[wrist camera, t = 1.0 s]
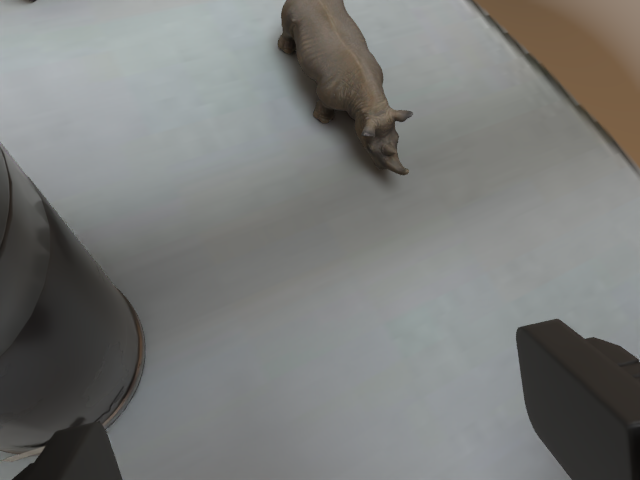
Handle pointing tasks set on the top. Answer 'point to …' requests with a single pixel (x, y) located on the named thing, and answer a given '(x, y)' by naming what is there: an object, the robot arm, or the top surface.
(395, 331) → the top surface
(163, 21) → the top surface
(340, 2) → the rhino figurine
